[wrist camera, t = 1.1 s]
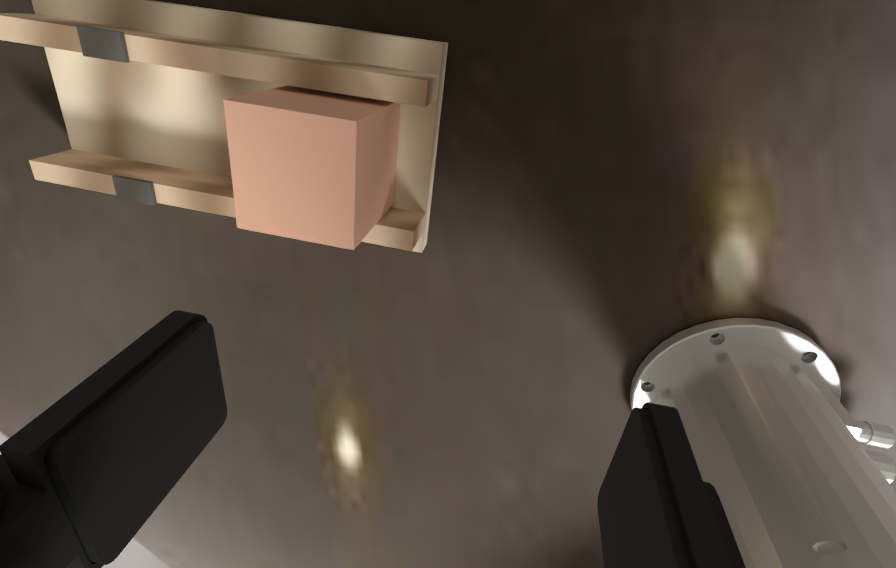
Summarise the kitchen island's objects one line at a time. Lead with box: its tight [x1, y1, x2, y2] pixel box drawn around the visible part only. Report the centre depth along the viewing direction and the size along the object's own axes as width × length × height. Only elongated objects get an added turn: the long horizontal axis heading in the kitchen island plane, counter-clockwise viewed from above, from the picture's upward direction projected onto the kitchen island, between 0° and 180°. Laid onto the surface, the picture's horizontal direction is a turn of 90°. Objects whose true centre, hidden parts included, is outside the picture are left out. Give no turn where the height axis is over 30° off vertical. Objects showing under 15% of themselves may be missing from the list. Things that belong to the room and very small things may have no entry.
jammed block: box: [223, 85, 401, 250], centre depth 25 cm, size 6×6×7 cm
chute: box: [0, 0, 448, 253], centre depth 28 cm, size 24×12×5 cm, turn 83°
